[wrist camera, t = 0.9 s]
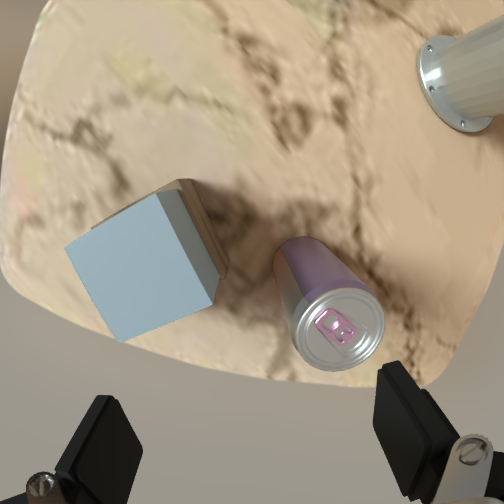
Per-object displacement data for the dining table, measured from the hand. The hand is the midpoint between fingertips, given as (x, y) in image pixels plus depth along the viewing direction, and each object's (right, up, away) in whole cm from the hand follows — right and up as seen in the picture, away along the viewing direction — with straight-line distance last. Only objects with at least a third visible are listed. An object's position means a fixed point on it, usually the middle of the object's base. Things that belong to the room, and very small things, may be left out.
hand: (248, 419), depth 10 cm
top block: (-8, +6, +16) cm, 19 cm away
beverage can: (+5, +5, +22) cm, 23 cm away
